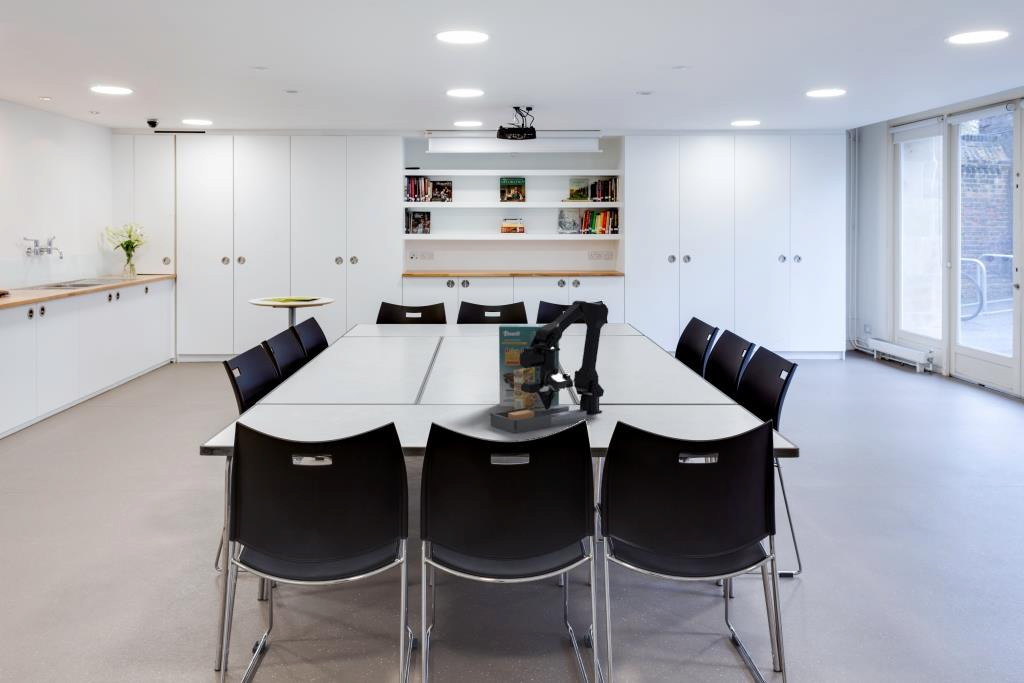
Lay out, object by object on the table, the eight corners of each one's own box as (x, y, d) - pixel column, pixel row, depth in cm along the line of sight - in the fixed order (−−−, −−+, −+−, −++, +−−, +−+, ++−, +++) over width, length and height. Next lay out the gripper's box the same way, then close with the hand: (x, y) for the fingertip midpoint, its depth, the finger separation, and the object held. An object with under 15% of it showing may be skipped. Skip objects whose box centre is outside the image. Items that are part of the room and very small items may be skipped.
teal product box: (558, 403, 319) (559, 325, 315) (558, 407, 313) (558, 327, 309) (501, 402, 321) (500, 324, 317) (499, 406, 315) (499, 326, 311)
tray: (526, 419, 294) (526, 407, 293) (551, 426, 283) (551, 414, 282) (490, 425, 285) (490, 413, 285) (515, 433, 274) (514, 421, 274)
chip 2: (527, 419, 288) (527, 409, 287) (534, 422, 285) (534, 411, 284) (517, 421, 286) (517, 411, 285) (524, 423, 282) (524, 413, 282)
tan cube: (517, 421, 286) (517, 411, 285) (524, 423, 282) (524, 413, 282) (508, 423, 283) (508, 413, 283) (515, 425, 280) (514, 415, 280)
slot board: (561, 413, 303) (561, 404, 303) (587, 420, 292) (587, 411, 292) (526, 419, 294) (526, 410, 294) (551, 426, 283) (551, 417, 282)
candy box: (523, 412, 305) (523, 370, 303) (513, 411, 307) (513, 369, 305) (535, 407, 313) (535, 366, 310) (525, 406, 315) (525, 366, 312)
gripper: (540, 371, 276) (540, 417, 278) (583, 365, 287) (583, 409, 289) (519, 366, 285) (520, 411, 287) (562, 360, 296) (562, 404, 298)
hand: (547, 409), depth 290 cm, fingers closed
